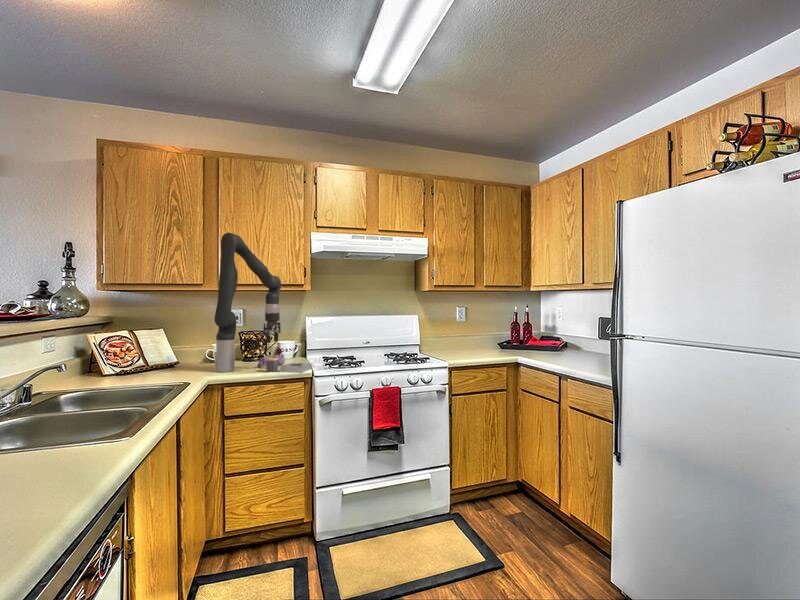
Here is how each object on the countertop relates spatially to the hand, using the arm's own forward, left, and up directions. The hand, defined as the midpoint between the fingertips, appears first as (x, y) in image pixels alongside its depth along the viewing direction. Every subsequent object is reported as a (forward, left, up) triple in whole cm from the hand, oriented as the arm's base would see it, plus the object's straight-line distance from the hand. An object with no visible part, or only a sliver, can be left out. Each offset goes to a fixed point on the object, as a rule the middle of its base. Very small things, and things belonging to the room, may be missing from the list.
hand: (272, 342), depth 209 cm
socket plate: (+11, +6, -16) cm, 20 cm away
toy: (-8, +16, -16) cm, 24 cm away
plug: (0, 0, -16) cm, 16 cm away
